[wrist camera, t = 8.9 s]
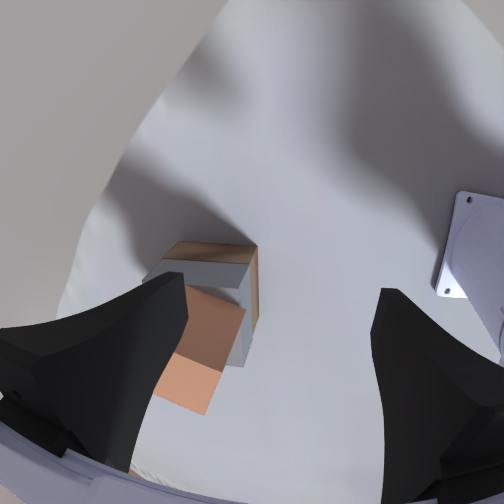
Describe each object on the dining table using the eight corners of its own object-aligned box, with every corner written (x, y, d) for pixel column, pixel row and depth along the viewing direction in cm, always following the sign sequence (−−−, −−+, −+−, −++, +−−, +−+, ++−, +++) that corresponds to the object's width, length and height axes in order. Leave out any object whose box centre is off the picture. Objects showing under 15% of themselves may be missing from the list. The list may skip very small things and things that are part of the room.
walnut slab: (258, 245, 22) (249, 263, 20) (259, 314, 25) (252, 338, 22) (179, 240, 23) (162, 257, 21) (189, 306, 26) (175, 328, 23)
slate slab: (249, 264, 20) (238, 288, 17) (252, 338, 22) (243, 367, 19) (162, 258, 21) (141, 279, 18) (176, 329, 23) (160, 354, 20)
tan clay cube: (246, 309, 17) (222, 372, 13) (228, 355, 19) (204, 415, 15) (181, 282, 18) (140, 336, 13) (170, 331, 19) (135, 385, 15)
